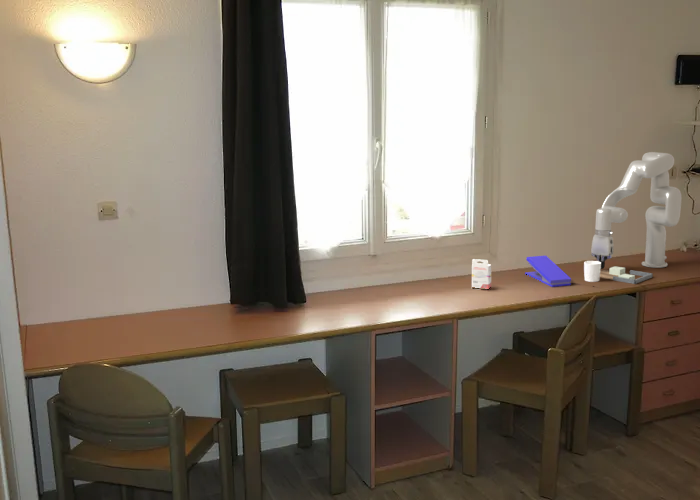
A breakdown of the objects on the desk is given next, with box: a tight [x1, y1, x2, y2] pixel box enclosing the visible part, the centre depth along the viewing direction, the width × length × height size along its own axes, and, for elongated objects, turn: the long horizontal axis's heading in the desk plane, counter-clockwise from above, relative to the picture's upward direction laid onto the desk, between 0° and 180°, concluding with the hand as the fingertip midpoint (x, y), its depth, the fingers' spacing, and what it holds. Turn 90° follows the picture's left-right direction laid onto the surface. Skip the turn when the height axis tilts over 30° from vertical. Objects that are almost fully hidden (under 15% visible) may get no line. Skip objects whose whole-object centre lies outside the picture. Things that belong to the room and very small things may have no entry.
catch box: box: [612, 269, 654, 285], centre depth 353 cm, size 18×11×3 cm, turn 132°
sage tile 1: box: [618, 273, 636, 280], centre depth 350 cm, size 6×6×3 cm
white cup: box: [583, 260, 602, 283], centre depth 352 cm, size 8×8×10 cm
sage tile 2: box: [609, 265, 626, 276], centre depth 363 cm, size 6×6×3 cm
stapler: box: [524, 255, 572, 288], centre depth 360 cm, size 12×28×10 cm, turn 14°
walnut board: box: [600, 269, 629, 281], centre depth 362 cm, size 16×14×1 cm
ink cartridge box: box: [471, 258, 492, 290], centre depth 347 cm, size 9×5×15 cm, turn 62°
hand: (601, 268), depth 369 cm, fingers closed
